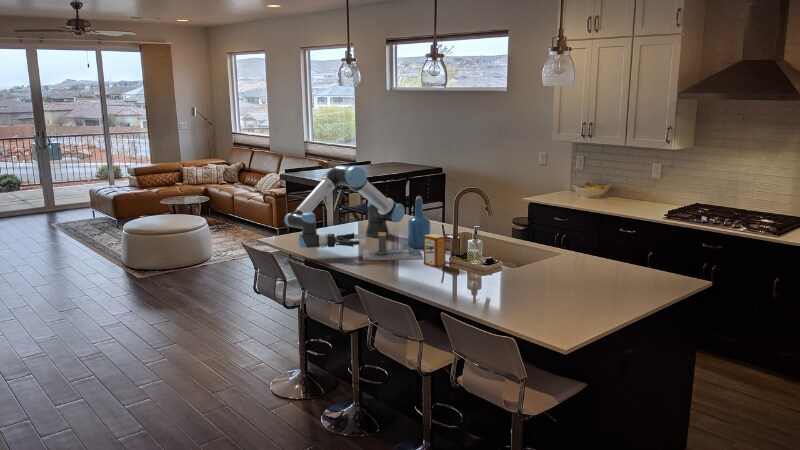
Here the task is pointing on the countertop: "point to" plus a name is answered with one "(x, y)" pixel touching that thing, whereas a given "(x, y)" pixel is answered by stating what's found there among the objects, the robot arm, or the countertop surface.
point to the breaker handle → (382, 243)
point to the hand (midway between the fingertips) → (365, 239)
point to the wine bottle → (418, 226)
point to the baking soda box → (434, 250)
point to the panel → (392, 254)
